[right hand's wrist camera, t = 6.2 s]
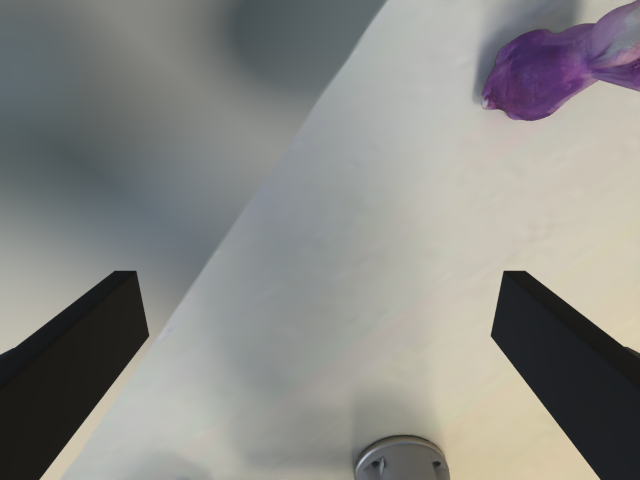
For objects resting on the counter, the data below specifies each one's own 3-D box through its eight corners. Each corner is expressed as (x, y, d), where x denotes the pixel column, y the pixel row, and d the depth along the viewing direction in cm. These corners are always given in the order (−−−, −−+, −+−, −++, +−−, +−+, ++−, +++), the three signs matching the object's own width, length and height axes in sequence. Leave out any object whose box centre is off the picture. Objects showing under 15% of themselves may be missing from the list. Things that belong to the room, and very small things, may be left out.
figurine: (592, 28, 36) (769, -27, 22) (547, 129, 39) (676, 139, 25) (507, 3, 35) (632, -70, 21) (469, 109, 38) (555, 107, 24)
